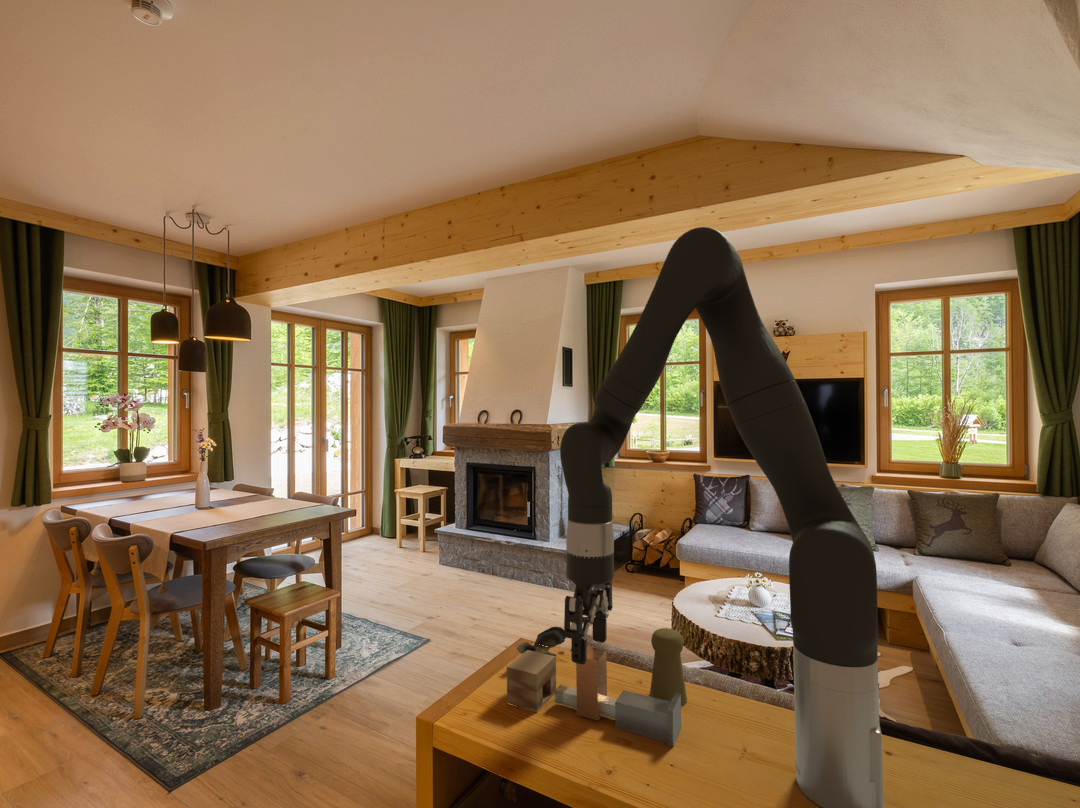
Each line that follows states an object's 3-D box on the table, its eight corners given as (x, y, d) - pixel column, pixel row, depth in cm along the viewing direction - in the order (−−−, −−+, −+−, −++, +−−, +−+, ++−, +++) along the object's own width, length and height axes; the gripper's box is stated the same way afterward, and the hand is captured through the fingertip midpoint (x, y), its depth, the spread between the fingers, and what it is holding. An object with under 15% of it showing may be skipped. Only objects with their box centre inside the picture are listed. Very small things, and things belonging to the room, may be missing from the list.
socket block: (556, 691, 89) (555, 656, 89) (536, 712, 83) (536, 674, 83) (527, 684, 92) (527, 649, 92) (507, 704, 86) (506, 666, 86)
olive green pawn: (688, 710, 83) (687, 640, 84) (649, 706, 85) (648, 637, 85) (685, 690, 89) (684, 625, 90) (649, 687, 90) (648, 622, 91)
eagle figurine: (558, 672, 94) (575, 643, 102) (536, 638, 94) (554, 612, 103) (528, 686, 97) (547, 657, 105) (506, 653, 98) (527, 626, 106)
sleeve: (681, 728, 79) (680, 694, 79) (673, 746, 74) (672, 711, 74) (624, 713, 83) (624, 681, 83) (614, 730, 78) (613, 696, 78)
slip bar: (671, 724, 79) (670, 663, 79) (665, 738, 75) (663, 675, 75) (563, 695, 87) (562, 641, 87) (552, 707, 83) (551, 650, 84)
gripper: (595, 562, 75) (595, 677, 75) (626, 541, 88) (626, 639, 87) (548, 556, 79) (548, 665, 78) (585, 536, 91) (585, 630, 91)
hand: (589, 651), depth 83 cm, fingers open, 8 cm apart
